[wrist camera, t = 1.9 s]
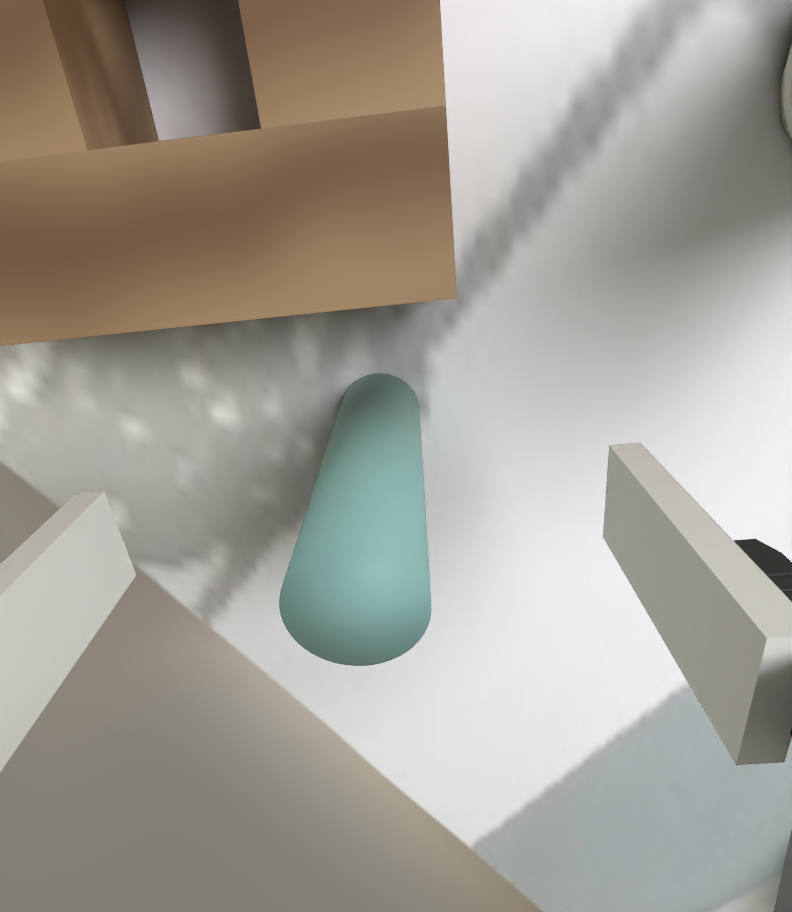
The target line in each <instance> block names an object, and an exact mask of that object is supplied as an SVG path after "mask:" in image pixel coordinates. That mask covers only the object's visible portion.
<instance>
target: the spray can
mask: <svg viewBox="0 0 792 912" xmlns="http://www.w3.org/2000/svg"><path fill="white" fill-rule="evenodd" d="M781 112H782V125H783V127H784V129H785V131H786V132H787V134H788V135H789V137H790V138H791V139H792V42H791V46H790V51H789V55H788V59H787V62H786V66H785V69H784V72H783V75H782V80H781Z"/></svg>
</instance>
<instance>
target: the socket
mask: <svg viewBox="0 0 792 912" xmlns="http://www.w3.org/2000/svg"><path fill="white" fill-rule="evenodd" d="M238 3H239V8H240V14H241V19H242V25H243V31H244V36H245V42H246V47H247V53H248V58H249V64H250V70H251V75H252V81H253V86H254V92H255V98H256V103H257V109H258V114H259V120H260V126H261V129H254V130H246V131H238V132H230V133H222V134H214V135H206V136H198V137H190V138H182V139H174V140H166V141H159V140H158V136H157V132H156V128H155V124H154V120H153V116H152V112H151V107H150V103H149V99H148V95H147V91H146V87H145V83H144V79H143V75H142V71H141V67H140V63H139V59H138V55H137V51H136V47H135V43H134V39H133V35H132V31H131V27H130V23H129V19H128V15H127V11H126V7H125V3H124V0H0V346H3V345H13V344H22V343H32V342H41V341H51V340H61V339H70V338H80V337H90V336H99V335H109V334H118V333H128V332H138V331H147V330H157V329H166V328H176V327H186V326H195V325H205V324H215V323H224V322H234V321H243V320H253V319H263V318H272V317H282V316H291V315H301V314H311V313H320V312H330V311H339V310H349V309H359V308H368V307H378V306H388V305H397V304H407V303H416V302H426V301H436V300H445V299H455V298H457V293H456V276H455V258H454V241H453V223H452V206H451V188H450V171H449V153H448V136H447V118H446V101H445V83H444V65H443V48H442V30H441V13H440V0H238Z"/></svg>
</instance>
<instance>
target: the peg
mask: <svg viewBox="0 0 792 912" xmlns="http://www.w3.org/2000/svg"><path fill="white" fill-rule="evenodd" d="M279 607H280V613H281V617H282V620H283V622H284V624H285V626H286V628H287V630H288V631H289V633H290V634H291V636H292V637H293V638H294V639H295V640H296V641H297V642H298V643H299V644H300V645H301V646H302V647H303V648H305V649H306V650H308V651H309V652H311V653H312V654H314V655H316V656H318V657H320V658H323V659H325V660H328V661H331V662H334V663H338V664H344V665H353V666H366V665H374V664H379V663H383V662H386V661H389V660H392V659H394V658H396V657H399V656H400V655H402V654H404V653H405V652H407V651H408V650H410V649H411V648H412V647H413V646H414V645H415V644H416V643H417V642H418V641H419V640H420V639H421V637H422V636H423V634H424V633H425V631H426V629H427V627H428V624H429V621H430V616H431V594H430V577H429V560H428V544H427V527H426V511H425V494H424V477H423V461H422V444H421V428H420V411H419V403H418V400H417V397H416V395H415V393H414V392H413V390H412V389H411V388H410V386H409V385H407V384H406V383H405V382H404V381H402V380H401V379H399V378H397V377H395V376H392V375H388V374H371V375H367V376H364V377H362V378H360V379H358V380H357V381H355V382H354V383H353V384H352V385H351V386H350V387H349V388H348V390H347V391H346V393H345V395H344V397H343V400H342V403H341V406H340V409H339V412H338V415H337V418H336V422H335V425H334V428H333V431H332V434H331V437H330V440H329V443H328V446H327V449H326V453H325V456H324V459H323V462H322V465H321V468H320V471H319V474H318V477H317V480H316V483H315V487H314V490H313V493H312V496H311V499H310V502H309V505H308V508H307V511H306V514H305V518H304V521H303V524H302V527H301V530H300V533H299V536H298V539H297V542H296V545H295V548H294V552H293V555H292V558H291V561H290V564H289V567H288V570H287V573H286V576H285V579H284V583H283V586H282V589H281V593H280V600H279Z"/></svg>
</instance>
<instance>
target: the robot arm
mask: <svg viewBox="0 0 792 912" xmlns="http://www.w3.org/2000/svg"><path fill="white" fill-rule="evenodd" d="M603 538H604V539H605V541H606V543H607V545H608V546H609V548H610V550H611V551H612V553H613V555H614V557H615V558H616V560H617V562H618V563H619V565H620V567H621V569H622V570H623V572H624V574H625V575H626V577H627V579H628V581H629V582H630V584H631V586H632V587H633V589H634V591H635V593H636V594H637V596H638V598H639V599H640V601H641V603H642V605H643V606H644V608H645V610H646V611H647V613H648V615H649V617H650V618H651V620H652V622H653V623H654V625H655V627H656V629H657V630H658V632H659V634H660V635H661V637H662V639H663V641H664V642H665V644H666V646H667V647H668V649H669V651H670V653H671V654H672V656H673V658H674V659H675V661H676V663H677V665H678V666H679V668H680V670H681V671H682V673H683V675H684V677H685V678H686V680H687V682H688V683H689V685H690V687H691V689H692V690H693V692H694V694H695V695H696V697H697V699H698V701H699V702H700V704H701V706H702V707H703V709H704V711H705V713H706V714H707V716H708V718H709V719H710V721H711V723H712V725H713V726H714V728H715V730H716V731H717V733H718V735H719V737H720V738H721V740H722V742H723V743H724V745H725V747H726V749H727V750H728V752H729V754H730V755H731V757H732V759H733V761H734V762H735V764H736V765H744V764H761V763H778V762H784V761H785V758H786V754H787V751H788V748H789V744H790V741H791V738H792V562H791V561H790V560H789V559H788V558H786V557H785V556H784V555H783V554H782V553H781V552H779V551H777V550H775V549H773V548H771V547H770V546H768V545H766V544H764V543H762V542H760V541H758V540H757V539H748V540H735V541H733V540H732V539H731V538H730V537H729V535H728V534H727V533H726V532H725V531H724V530H723V529H722V528H721V527H720V526H719V525H718V524H717V523H716V522H715V521H714V520H713V519H712V518H711V517H710V515H709V514H708V513H707V512H706V511H705V510H704V509H703V508H702V507H701V506H700V505H699V504H698V503H697V502H696V501H695V500H694V499H693V498H692V497H691V495H690V494H689V493H688V492H687V491H686V490H685V489H684V488H683V487H682V486H681V485H680V484H679V483H678V482H677V481H676V480H675V479H674V478H673V477H672V475H671V474H670V473H669V472H668V471H667V470H666V469H665V468H664V467H663V466H662V465H661V464H660V463H659V462H658V461H657V460H656V459H655V458H654V457H653V456H652V454H651V453H650V452H649V451H648V450H647V449H646V448H645V447H644V446H643V445H642V444H641V443H630V444H619V445H609V456H608V471H607V486H606V500H605V515H604V530H603ZM135 576H136V573H135V570H134V567H133V565H132V562H131V560H130V557H129V554H128V552H127V549H126V546H125V544H124V541H123V538H122V536H121V533H120V531H119V528H118V525H117V523H116V520H115V517H114V515H113V512H112V510H111V507H110V504H109V502H108V499H107V496H106V494H105V491H97V492H86V493H76V494H75V495H74V496H73V497H72V498H71V499H70V500H69V501H68V502H67V503H66V504H64V505H63V506H62V507H61V508H60V509H59V510H58V511H57V512H56V513H55V514H54V515H53V516H52V517H51V518H50V519H48V520H47V521H46V522H45V523H44V524H43V525H42V526H41V527H40V528H39V529H38V530H37V531H35V533H33V534H32V535H31V536H30V537H29V538H28V539H27V540H26V541H25V542H24V543H23V544H22V545H20V546H19V547H18V548H17V549H16V550H15V551H14V552H13V553H12V554H11V555H10V556H9V557H8V558H6V559H5V560H4V561H3V562H2V563H1V564H0V772H1V770H2V769H3V768H4V766H5V765H6V763H7V762H8V760H9V759H10V757H11V756H12V754H13V753H14V752H15V750H16V749H17V747H18V746H19V744H20V743H21V741H22V740H23V739H24V737H25V736H26V734H27V733H28V731H29V730H30V728H31V727H32V726H33V724H34V723H35V721H36V720H37V718H38V717H39V715H40V714H41V712H42V711H43V710H44V708H45V707H46V705H47V704H48V702H49V701H50V699H51V698H52V697H53V695H54V694H55V692H56V691H57V689H58V688H59V686H60V685H61V683H62V682H63V681H64V679H65V678H66V676H67V675H68V673H69V672H70V670H71V669H72V667H73V666H74V665H75V663H76V662H77V660H78V659H79V657H80V656H81V654H82V653H83V652H84V650H85V649H86V647H87V646H88V644H89V643H90V641H91V640H92V639H93V637H94V636H95V634H96V632H97V631H98V630H99V628H100V627H101V625H102V624H103V622H104V621H105V620H106V618H107V617H108V615H109V614H110V612H111V611H112V610H113V608H114V607H115V605H116V604H117V602H118V601H119V599H120V598H121V596H122V595H123V594H124V592H125V591H126V589H127V588H128V586H129V585H130V583H131V582H132V580H133V579H134V578H135ZM774 912H792V832H791V836H790V841H789V845H788V850H787V855H786V859H785V864H784V868H783V873H782V878H781V882H780V887H779V891H778V896H777V901H776V905H775V910H774Z"/></svg>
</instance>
